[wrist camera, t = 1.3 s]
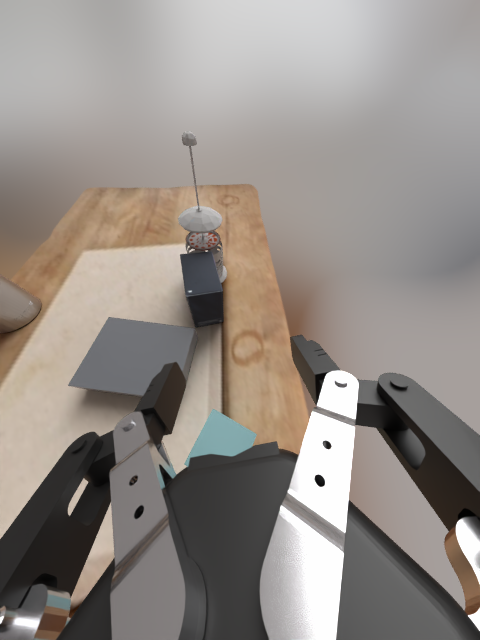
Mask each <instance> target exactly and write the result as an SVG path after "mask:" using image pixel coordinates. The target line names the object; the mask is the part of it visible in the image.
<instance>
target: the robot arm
mask: <svg viewBox="0 0 480 640" xmlns="http://www.w3.org/2000/svg"><path fill="white" fill-rule="evenodd" d="M40 309H41V301H40V300H39V299H38V298H37V297H35V296H34V295H32V294H31V293H29V292H28V291H26V290H25V289H23V288H21V287H20V286H18V285H17V284H15V283H14V282H12V281H11V280H9V279H7V278H5V277H4V276H3V275H1V274H0V333H6V332H10V331H13V330H16V329H18V328H21V327H23V326H24V325H26V324H28V323H29V322H30V321H31V320H33V319H34V318H35V317H36V316H37V314H38V313H39V311H40ZM290 341H291V350H292V357H293V361H294V364H295V366H296V368H297V370H298V371H299V373H300V375H301V377H302V379H303V381H304V383H305V385H306V387H307V389H308V391H309V393H310V395H311V397H312V399H313V401H314V403H315V404H316V406H317V407H316V408H314V409H313V411H312V414H311V417H310V420H309V424H308V427H307V430H306V434H305V437H304V440H303V444H302V447H301V450H300V453H299V455H297V454H295V453H293V452H291V451H288V450H284V449H278V444H277V441H276V442H271V443H265V444H260V445H255V446H253V447H251V448H249V449H247V450H245V451H243V452H241V453H239V454H237V455H235V456H224V455H217V454H207V455H201V456H196V457H191V458H190V461H189V466H188V467H187V468H185V469H183V470H182V471H181V472H179V473H178V474H177V475H176V473H175V471H174V469H173V466H172V464H171V461H170V459H169V456H168V454H167V451H166V448H165V446H164V443H163V442H162V438H163V435H168V434H172V430H173V427H174V424H175V420H176V417H177V414H178V410H179V407H180V404H181V401H182V397H183V394H184V391H185V387H186V379H185V377H184V375H183V373H182V370H181V368H180V366H179V364H178V363H177V362H172V363H168V364H165V365H164V366H163V368H162V370H161V372H160V373H158V374H157V375H156V376H155V377H154V378H153V379H152V381H151V383H150V384H149V387H148V388H147V390H146V392H145V393H144V395H143V397H142V399H141V401H140V402H139V404H138V406H137V408H136V410H135V411H134V412H133V413H130V414H128V415H127V416H125V417H124V418H123V419H122V420H121V421H120V422H119V423H118V424H117V425H116V427H115V429H114V430H113V431H111V432H109V433H107V434H105V435H102V436H100V437H99V436H98V435H97V434H96V433H95V432H89V433H86V434H84V435H82V436H81V437H79V438H78V439H77V440H75V441H74V442H73V443H72V444H71V445H70V446H69V447H68V448H67V450H66V451H65V452H64V454H63V455H62V456H61V458H60V459H59V460H58V462H57V463H56V465H55V466H54V467H53V469H52V470H51V471H50V473H49V474H48V475H47V477H46V478H45V480H44V481H43V482H42V484H41V485H40V486H39V488H38V489H37V490H36V492H35V493H34V494H33V496H32V497H31V499H30V500H29V501H28V503H27V504H26V505H25V507H24V508H23V509H22V511H21V512H20V514H19V515H18V516H17V518H16V519H15V520H14V522H13V523H12V524H11V526H10V527H9V529H8V530H7V531H6V533H5V534H4V535H3V537H2V538H1V539H0V640H480V435H479V434H477V433H476V432H475V431H474V430H473V429H471V428H470V427H469V426H468V425H467V424H465V423H464V422H463V421H462V420H461V419H459V418H458V417H457V416H456V415H455V414H453V413H452V412H451V411H450V410H449V409H447V408H446V407H445V406H444V405H443V404H442V403H440V402H439V401H438V400H437V399H436V398H434V397H433V396H432V395H431V394H430V393H428V392H427V391H426V390H425V389H424V388H422V387H421V386H420V385H419V384H418V383H416V382H415V381H414V380H412V379H411V378H409V377H407V376H404V375H401V374H396V373H384V374H382V375H380V376H379V378H378V381H370V380H358V379H356V378H355V377H354V376H352V375H351V374H349V373H347V372H343V371H341V370H340V369H339V367H338V366H337V365H336V364H335V363H334V362H333V360H332V359H331V358H330V357H329V356H328V354H327V353H326V352H325V351H324V350H323V349H322V347H321V346H320V345H319V344H318V343H316V342H314V341H312V340H310V341H306V339H305V338H304V337H303V335H297V336H293V337H290ZM355 425H361V426H368V427H375V428H377V430H378V431H379V433H380V434H381V435H382V436H383V438H384V440H385V441H386V443H387V444H388V445H389V447H390V448H391V449H392V451H393V452H394V454H395V455H396V457H397V458H398V460H399V461H400V462H401V464H402V465H403V467H404V468H405V470H406V471H407V472H408V474H409V475H410V477H411V478H412V480H413V481H414V482H415V484H416V485H417V486H418V488H419V489H420V491H421V492H422V494H423V495H424V497H425V498H426V499H427V501H428V502H429V504H430V505H431V507H432V508H433V509H434V511H435V512H436V514H437V515H438V517H439V518H440V519H441V521H442V522H443V524H444V525H445V526H446V528H447V529H448V531H449V532H448V533H447V535H446V537H445V541H444V545H445V550H446V554H447V556H448V559H449V561H450V563H451V565H452V567H453V568H454V571H455V572H456V574H457V576H458V578H459V580H460V583H461V585H462V588H463V592H464V596H465V611H464V610H463V609H462V607H461V606H460V605H459V604H458V603H457V602H456V601H455V600H454V598H453V597H452V596H451V595H450V594H449V593H448V592H447V591H446V590H445V589H444V588H443V587H442V586H441V585H440V584H439V583H438V582H437V581H436V580H435V579H433V578H432V577H431V576H430V575H429V574H428V573H427V572H426V571H425V570H424V569H423V568H422V567H420V566H419V565H418V564H417V563H416V562H415V561H414V560H413V559H412V558H411V557H410V556H409V555H408V554H407V553H405V552H404V551H403V550H402V549H401V548H400V547H399V546H398V545H397V544H396V543H395V542H394V541H393V540H392V539H390V538H389V537H388V536H387V535H386V534H385V533H384V532H383V531H382V530H381V529H380V528H379V527H378V526H376V525H375V524H374V523H373V522H372V521H371V520H370V519H369V518H368V517H367V516H366V515H365V514H364V513H362V512H361V511H360V510H359V509H358V508H357V507H356V506H355V505H354V504H353V503H352V502H351V501H350V500H348V497H349V486H350V474H351V464H352V453H353V442H354V430H355ZM83 478H84V479H86V480H87V481H88V484H87V486H86V488H85V490H84V492H83V493H82V495H81V497H80V499H79V501H78V503H77V504H76V506H75V508H74V510H73V512H72V514H71V515H70V516H69V515H68V505H69V503H70V501H71V499H72V497H73V495H74V494H75V492H76V490H77V488H78V487H79V485H80V483H81V481H82V480H83ZM110 502H111V506H112V522H113V539H114V555H115V558H114V559H113V561H112V562H111V563H110V565H109V566H108V568H107V569H106V570H105V572H104V573H103V575H102V576H101V577H100V579H99V580H98V582H97V583H96V584H95V586H94V587H93V588H92V590H91V591H90V593H89V594H88V595H87V597H86V598H85V600H84V601H83V602H82V604H81V605H80V607H79V608H78V609H77V611H76V612H75V614H74V615H73V616H72V618H71V619H70V618H68V615H69V611H70V603H71V599H70V598H71V596H72V593H73V591H74V589H75V586H76V584H77V581H78V579H79V577H80V574H81V572H82V570H83V567H84V565H85V562H86V560H87V558H88V555H89V553H90V550H91V548H92V546H93V543H94V541H95V538H96V536H97V534H98V531H99V529H100V526H101V524H102V522H103V519H104V517H105V514H106V512H107V510H108V507H109V505H110Z"/></svg>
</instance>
